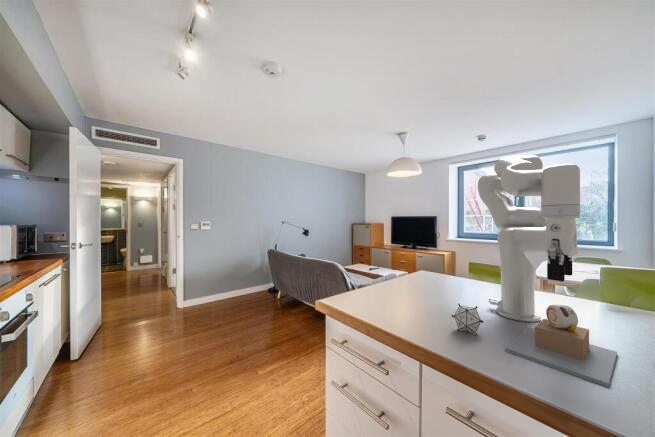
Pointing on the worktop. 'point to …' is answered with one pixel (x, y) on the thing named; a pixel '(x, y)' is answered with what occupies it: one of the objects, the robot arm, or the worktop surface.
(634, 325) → the worktop surface
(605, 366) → the tower base
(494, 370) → the worktop surface
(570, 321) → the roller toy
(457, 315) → the white geodesic ball toy
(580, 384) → the worktop surface
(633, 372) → the worktop surface
